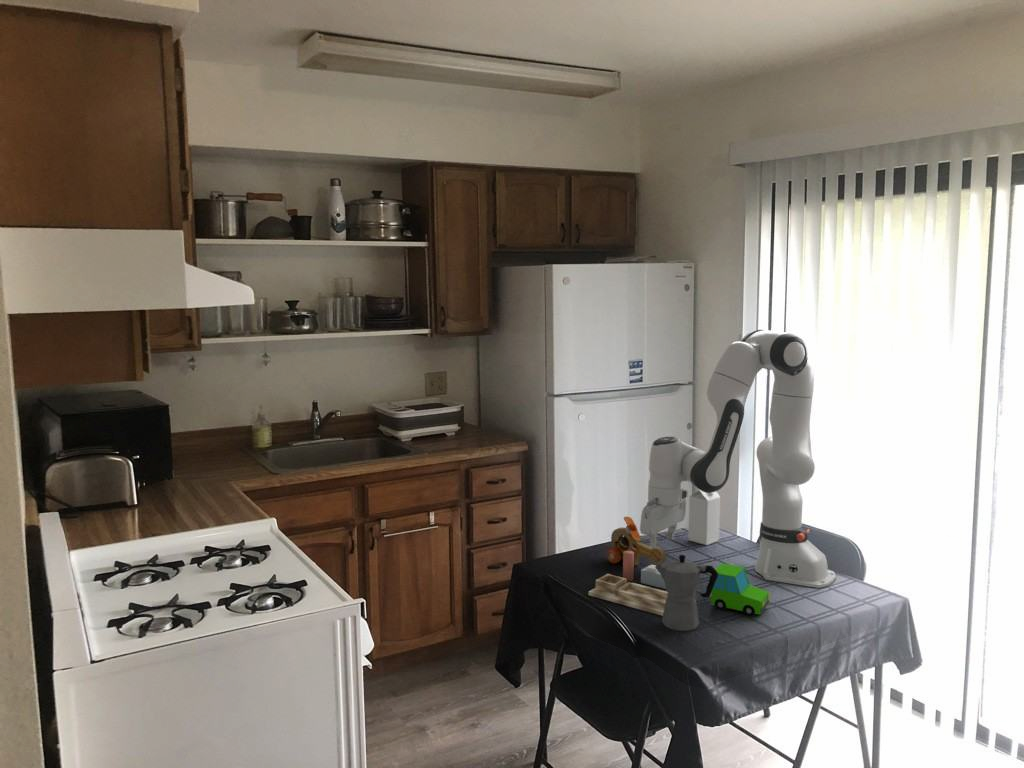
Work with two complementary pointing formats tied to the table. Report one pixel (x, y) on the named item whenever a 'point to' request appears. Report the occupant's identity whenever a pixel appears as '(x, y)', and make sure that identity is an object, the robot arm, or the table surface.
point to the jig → (630, 594)
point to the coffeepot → (683, 592)
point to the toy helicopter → (632, 545)
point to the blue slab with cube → (652, 577)
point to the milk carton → (704, 517)
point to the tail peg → (628, 565)
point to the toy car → (737, 591)
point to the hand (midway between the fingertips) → (662, 543)
